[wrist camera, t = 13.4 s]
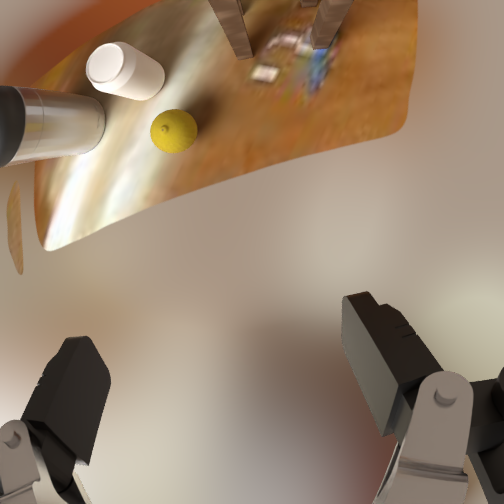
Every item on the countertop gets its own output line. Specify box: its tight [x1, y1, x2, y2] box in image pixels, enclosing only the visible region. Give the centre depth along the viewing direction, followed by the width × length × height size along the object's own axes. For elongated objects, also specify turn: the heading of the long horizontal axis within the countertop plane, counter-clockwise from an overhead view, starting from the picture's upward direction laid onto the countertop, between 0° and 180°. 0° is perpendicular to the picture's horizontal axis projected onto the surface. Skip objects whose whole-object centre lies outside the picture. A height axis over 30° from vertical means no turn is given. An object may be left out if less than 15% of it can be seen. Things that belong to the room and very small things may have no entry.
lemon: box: [150, 109, 197, 153], centre depth 35 cm, size 6×6×8 cm
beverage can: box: [86, 42, 165, 100], centre depth 31 cm, size 6×6×12 cm
